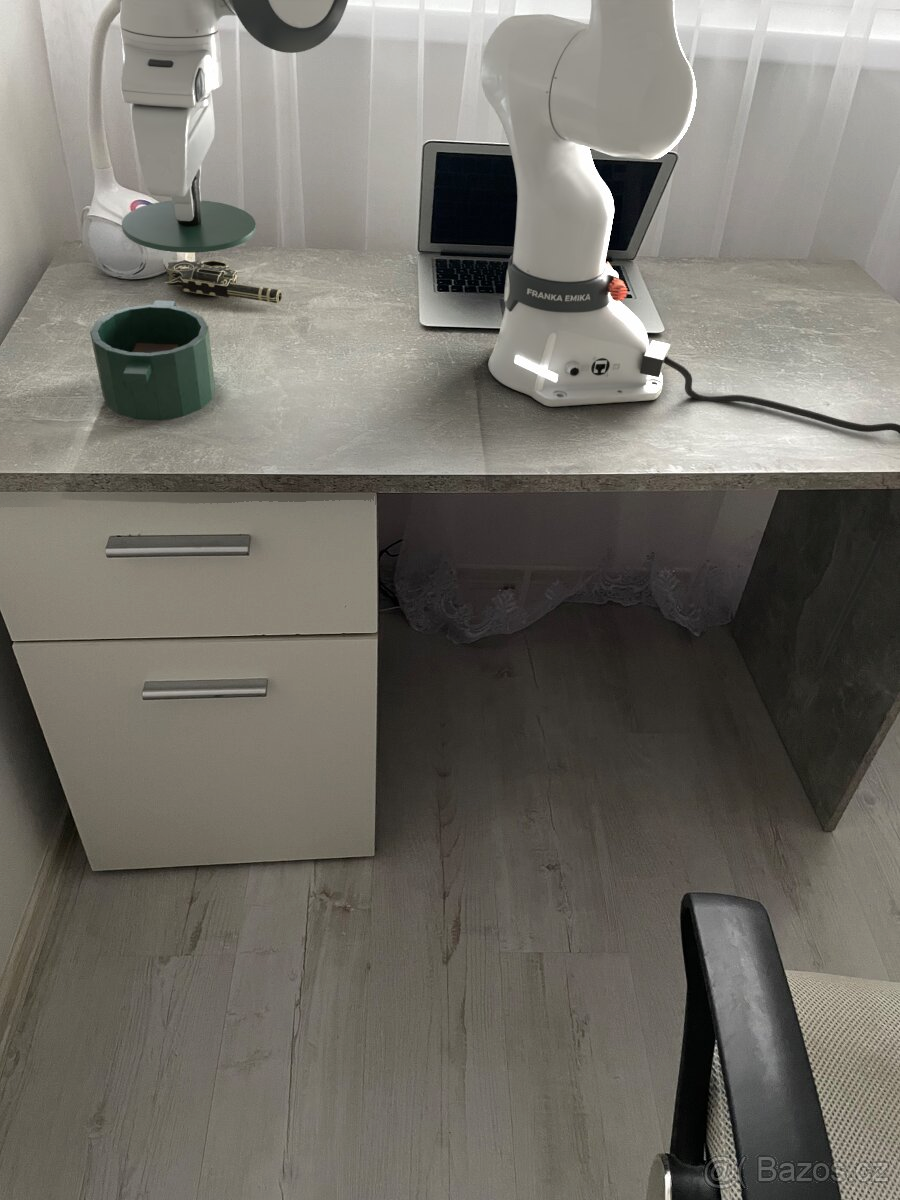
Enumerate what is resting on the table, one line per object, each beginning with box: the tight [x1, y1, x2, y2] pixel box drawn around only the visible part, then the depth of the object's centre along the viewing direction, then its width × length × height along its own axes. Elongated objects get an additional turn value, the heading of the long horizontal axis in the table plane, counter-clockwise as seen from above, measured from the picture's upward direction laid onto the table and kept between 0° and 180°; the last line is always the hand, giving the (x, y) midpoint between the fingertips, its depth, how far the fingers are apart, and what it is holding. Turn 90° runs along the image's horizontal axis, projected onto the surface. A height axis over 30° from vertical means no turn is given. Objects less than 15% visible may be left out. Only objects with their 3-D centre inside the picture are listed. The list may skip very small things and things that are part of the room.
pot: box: [89, 299, 216, 421], centre depth 109 cm, size 13×18×8 cm
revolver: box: [164, 252, 282, 304], centre depth 135 cm, size 4×21×12 cm
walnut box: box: [133, 343, 178, 353], centre depth 110 cm, size 5×5×5 cm
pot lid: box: [121, 176, 257, 254], centre depth 98 cm, size 14×14×6 cm
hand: (188, 212), depth 98 cm, fingers closed on pot lid, 2 cm apart
